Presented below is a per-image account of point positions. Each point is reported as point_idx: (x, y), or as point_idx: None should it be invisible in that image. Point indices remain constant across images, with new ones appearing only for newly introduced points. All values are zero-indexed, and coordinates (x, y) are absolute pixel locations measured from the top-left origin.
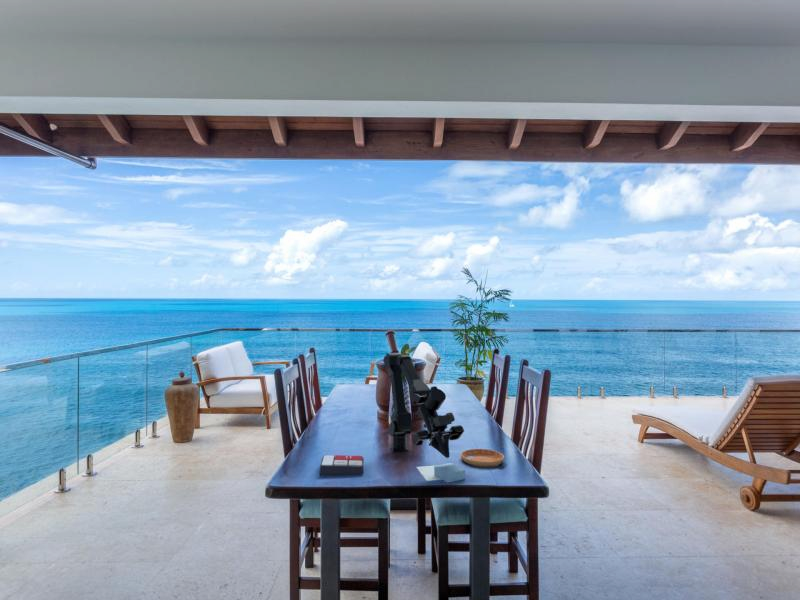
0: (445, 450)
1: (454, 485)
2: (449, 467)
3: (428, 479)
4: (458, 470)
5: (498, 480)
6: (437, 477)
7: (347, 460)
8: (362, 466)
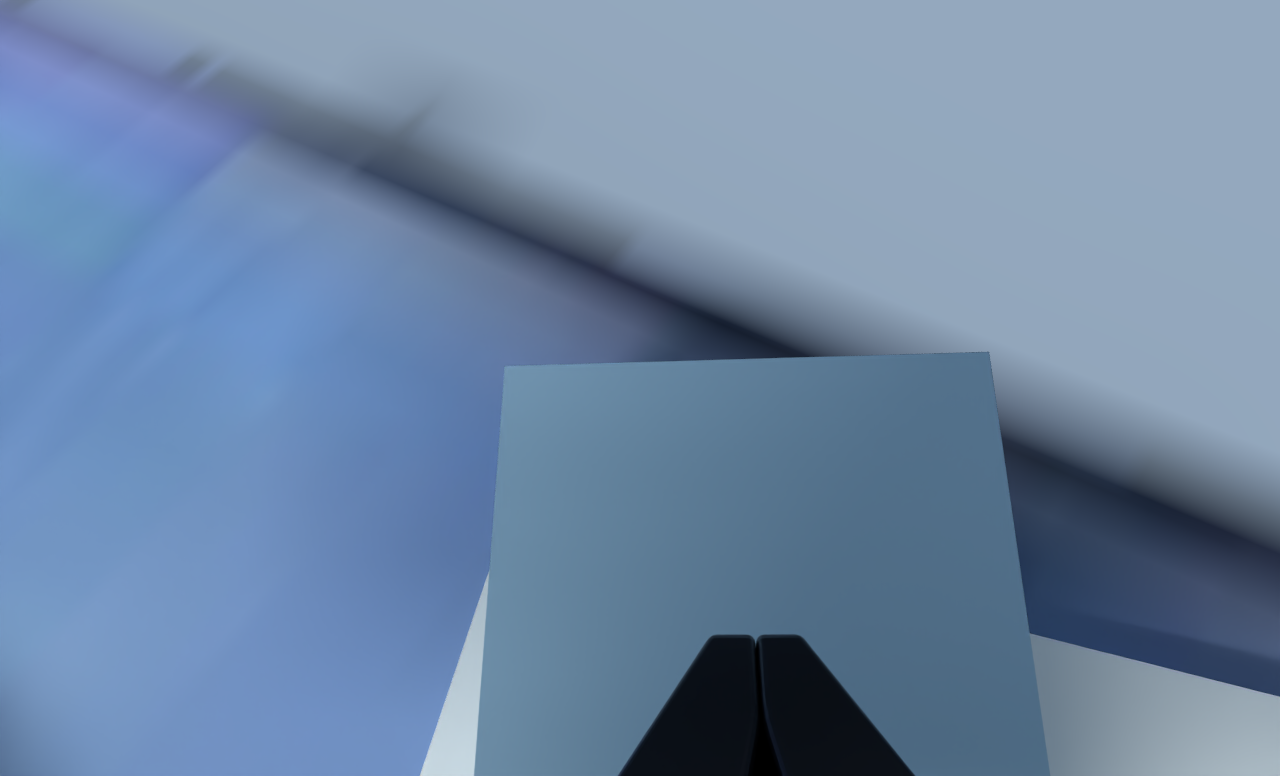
0: (837, 767)
1: None
2: None
3: (1265, 764)
4: (643, 402)
5: (92, 240)
6: None
7: None
8: None
